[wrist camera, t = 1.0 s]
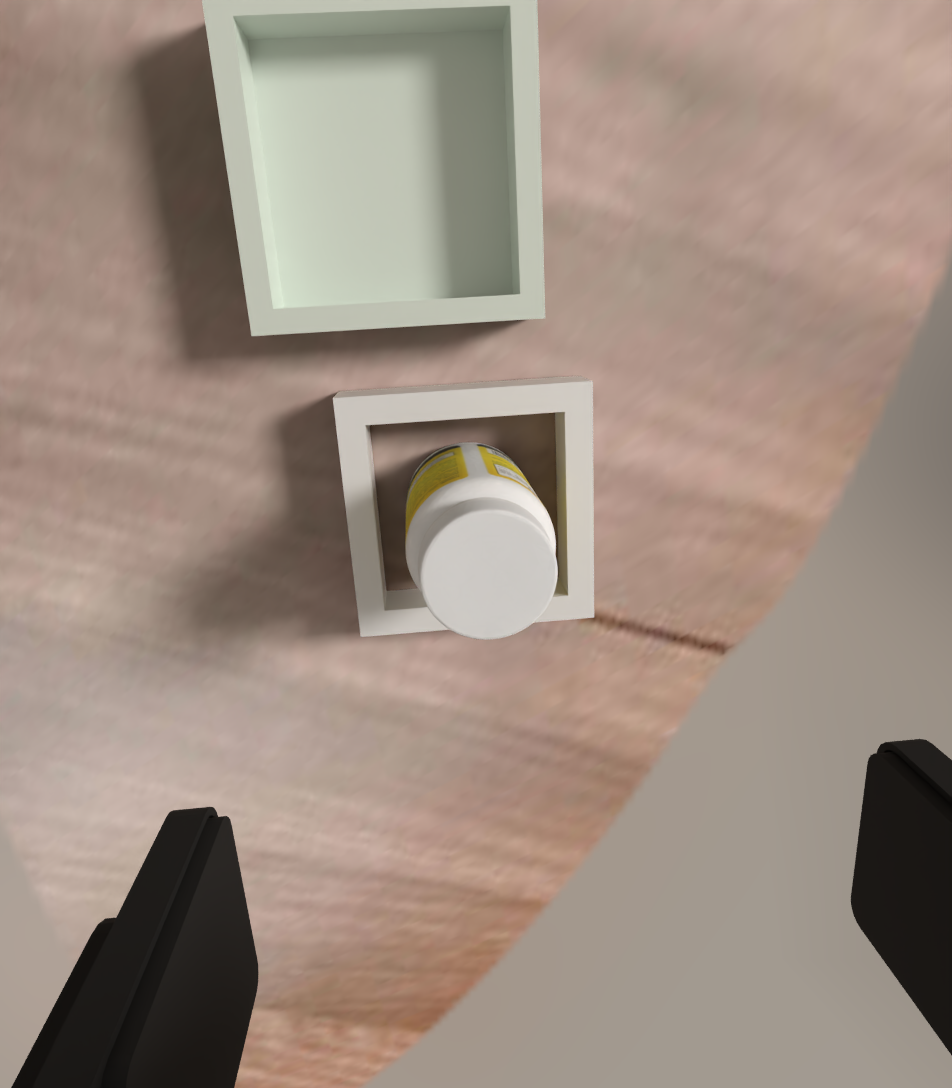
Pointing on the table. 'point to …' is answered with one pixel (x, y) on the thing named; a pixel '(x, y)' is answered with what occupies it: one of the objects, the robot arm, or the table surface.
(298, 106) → the tray
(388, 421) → the collar holder
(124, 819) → the table surface
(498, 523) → the supplement bottle
